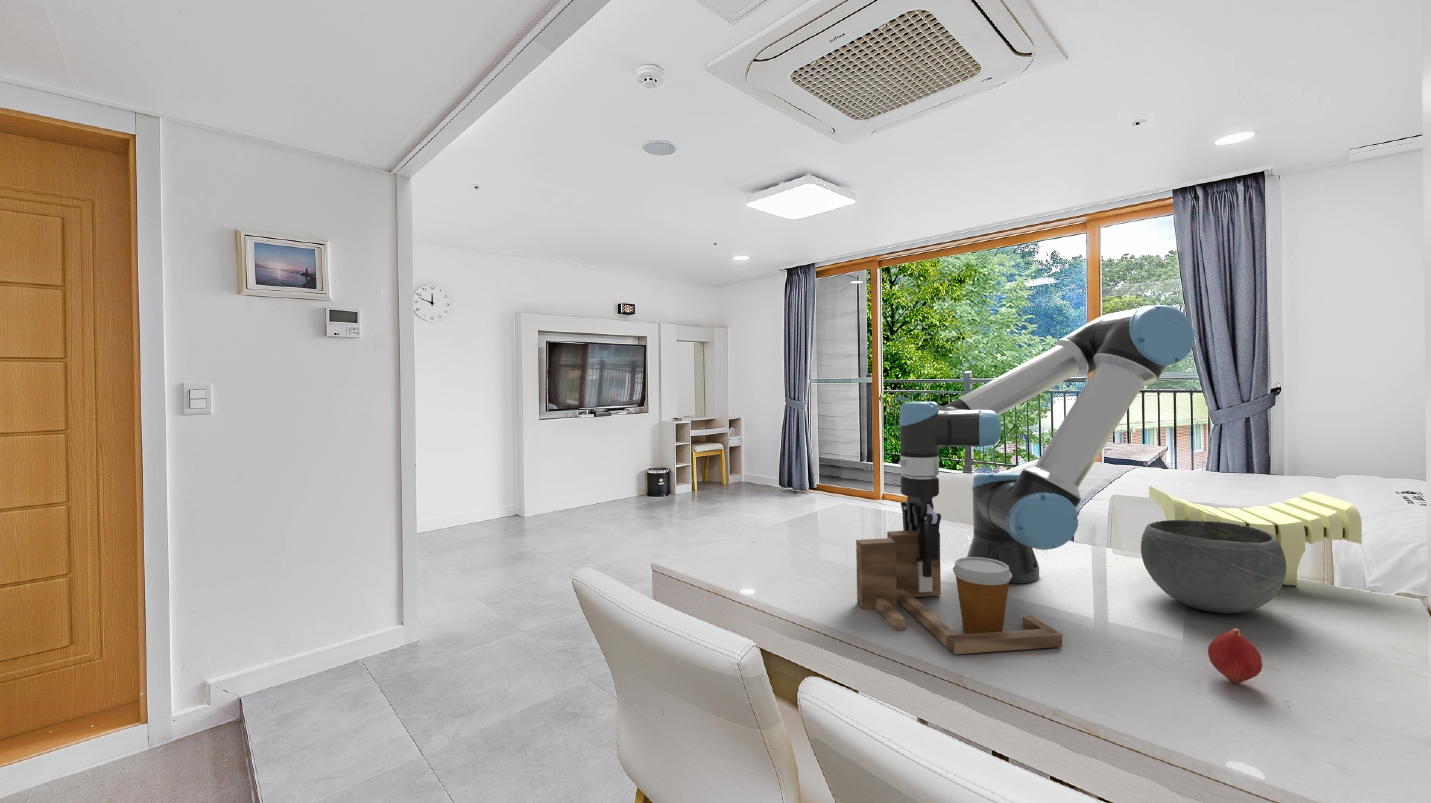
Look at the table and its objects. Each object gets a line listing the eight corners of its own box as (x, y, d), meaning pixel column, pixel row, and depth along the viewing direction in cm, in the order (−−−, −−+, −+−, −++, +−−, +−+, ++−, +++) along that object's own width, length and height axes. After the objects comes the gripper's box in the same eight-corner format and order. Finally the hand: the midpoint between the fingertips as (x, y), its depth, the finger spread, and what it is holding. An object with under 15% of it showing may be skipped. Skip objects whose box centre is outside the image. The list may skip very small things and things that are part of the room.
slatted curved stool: (1174, 580, 123) (1174, 498, 122) (1149, 558, 138) (1149, 485, 137) (1360, 595, 112) (1361, 506, 111) (1311, 570, 127) (1312, 491, 126)
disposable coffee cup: (1020, 645, 95) (1019, 574, 95) (959, 641, 97) (959, 572, 97) (1003, 621, 104) (1002, 557, 104) (948, 618, 106) (947, 555, 106)
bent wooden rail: (888, 592, 119) (887, 531, 119) (973, 587, 121) (972, 527, 120) (953, 654, 92) (952, 575, 92) (1062, 646, 94) (1061, 568, 93)
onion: (1197, 673, 85) (1197, 620, 84) (1232, 670, 85) (1232, 618, 85) (1236, 694, 79) (1236, 638, 79) (1273, 691, 79) (1274, 635, 79)
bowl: (1283, 602, 109) (1283, 526, 109) (1289, 641, 94) (1290, 551, 94) (1147, 579, 124) (1147, 511, 123) (1133, 609, 108) (1133, 531, 108)
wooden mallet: (857, 603, 115) (856, 539, 114) (890, 601, 115) (889, 538, 115) (881, 631, 102) (880, 559, 101) (919, 628, 102) (918, 557, 102)
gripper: (886, 470, 125) (888, 575, 126) (919, 483, 109) (921, 603, 110) (919, 469, 126) (920, 573, 126) (957, 481, 110) (958, 601, 110)
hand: (921, 587), depth 118 cm, fingers closed on bent wooden rail, 3 cm apart
